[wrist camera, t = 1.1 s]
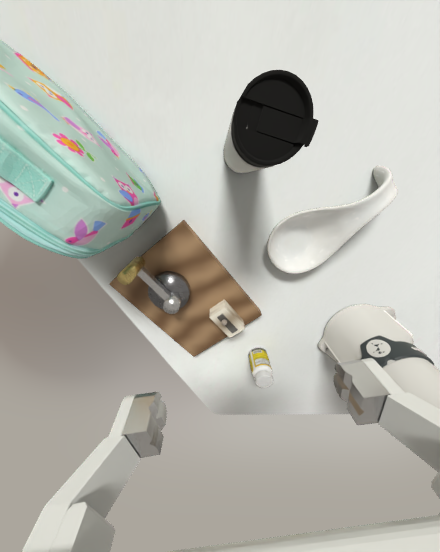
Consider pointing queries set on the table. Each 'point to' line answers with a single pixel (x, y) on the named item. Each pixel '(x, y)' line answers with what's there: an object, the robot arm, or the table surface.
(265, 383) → the supplement bottle
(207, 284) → the stand
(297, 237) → the spoon rest
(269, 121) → the travel mug
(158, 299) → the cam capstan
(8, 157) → the lunch box
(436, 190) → the table surface
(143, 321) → the table surface
